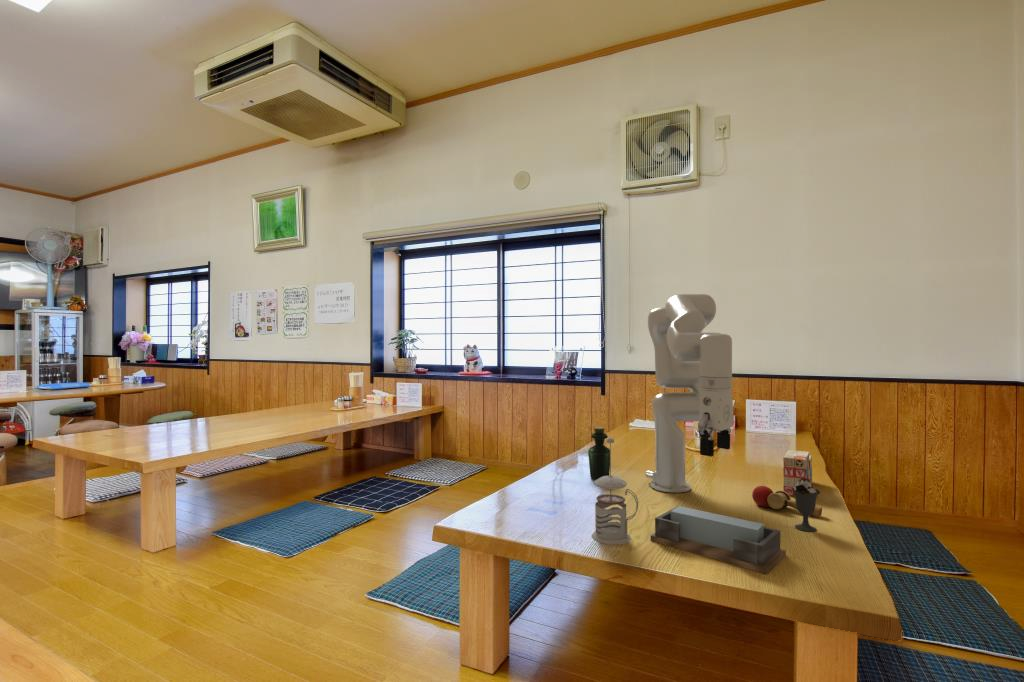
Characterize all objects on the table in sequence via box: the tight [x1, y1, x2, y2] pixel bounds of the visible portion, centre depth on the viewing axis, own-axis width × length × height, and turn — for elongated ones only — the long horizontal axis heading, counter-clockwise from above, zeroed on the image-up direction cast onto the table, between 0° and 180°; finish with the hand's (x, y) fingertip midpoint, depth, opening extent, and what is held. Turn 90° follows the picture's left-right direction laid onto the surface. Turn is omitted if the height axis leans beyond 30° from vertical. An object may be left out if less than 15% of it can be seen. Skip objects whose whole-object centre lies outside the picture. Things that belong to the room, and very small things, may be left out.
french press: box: [591, 437, 639, 546], centre depth 129 cm, size 10×12×25 cm
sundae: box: [791, 470, 821, 533], centre depth 134 cm, size 7×7×15 cm
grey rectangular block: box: [671, 505, 765, 551], centre depth 122 cm, size 20×5×6 cm, turn 50°
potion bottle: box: [587, 426, 610, 481], centre depth 184 cm, size 8×8×18 cm
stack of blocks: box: [782, 449, 813, 497], centre depth 170 cm, size 21×6×12 cm, turn 145°
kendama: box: [751, 485, 823, 518], centre depth 149 cm, size 8×6×18 cm
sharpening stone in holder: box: [650, 505, 787, 575], centre depth 122 cm, size 27×13×6 cm, turn 46°
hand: (715, 451), depth 128 cm, fingers open, 9 cm apart
